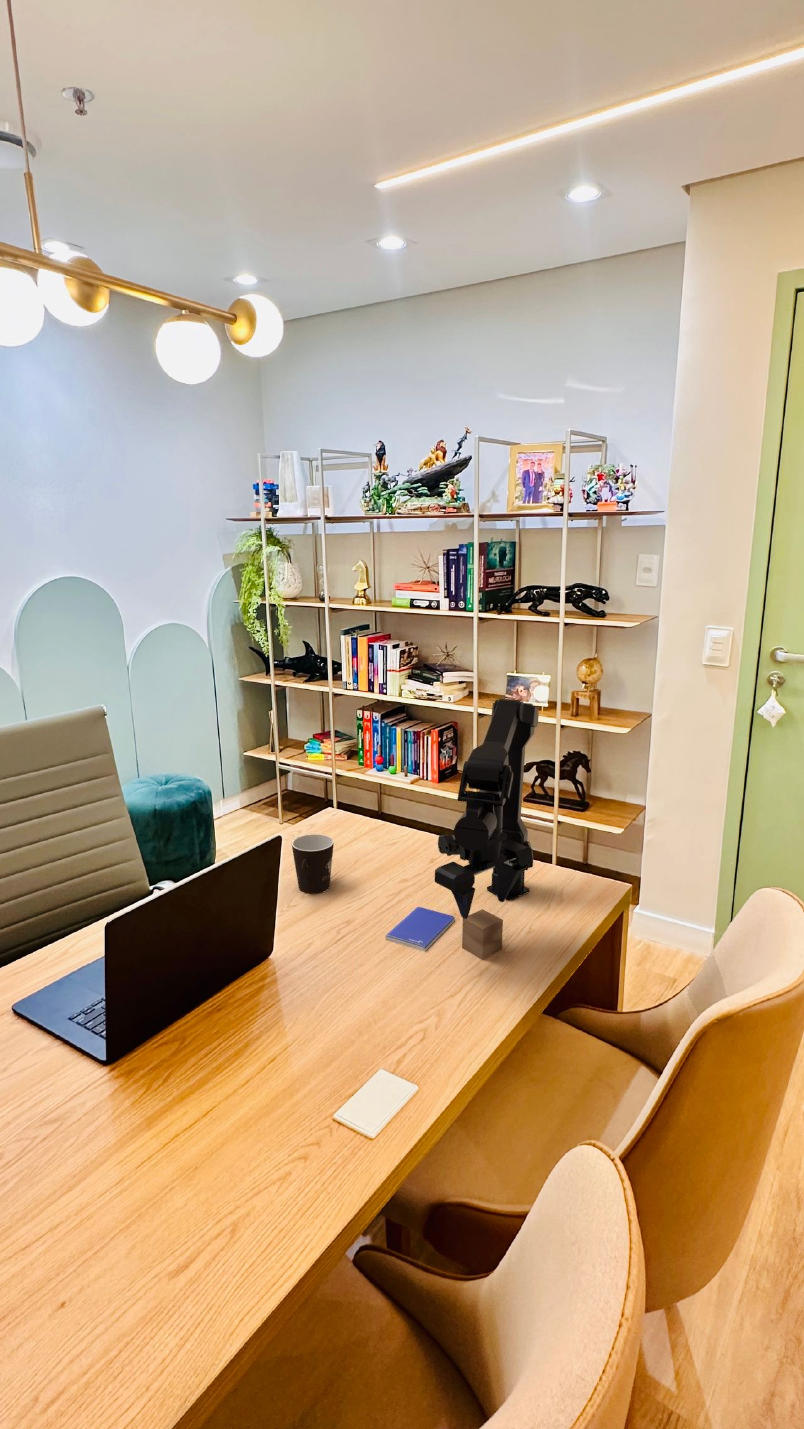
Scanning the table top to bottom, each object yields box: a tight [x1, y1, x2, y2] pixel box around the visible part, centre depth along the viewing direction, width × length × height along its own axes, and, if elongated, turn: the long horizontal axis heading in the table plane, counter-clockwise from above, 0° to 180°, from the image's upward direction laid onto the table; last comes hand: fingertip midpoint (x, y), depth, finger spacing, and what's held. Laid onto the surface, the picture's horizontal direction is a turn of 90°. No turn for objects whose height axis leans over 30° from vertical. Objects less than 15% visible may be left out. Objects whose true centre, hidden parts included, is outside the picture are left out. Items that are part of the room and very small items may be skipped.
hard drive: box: [384, 906, 456, 952], centre depth 145 cm, size 2×8×12 cm
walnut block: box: [461, 908, 504, 960], centre depth 138 cm, size 5×5×6 cm
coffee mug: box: [291, 833, 335, 895], centre depth 159 cm, size 12×9×10 cm
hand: (483, 909), depth 137 cm, fingers open, 9 cm apart
